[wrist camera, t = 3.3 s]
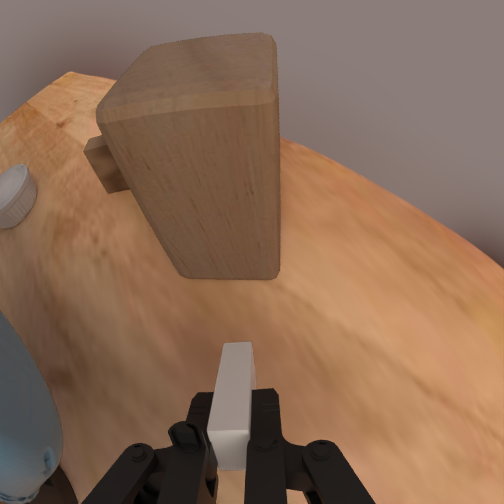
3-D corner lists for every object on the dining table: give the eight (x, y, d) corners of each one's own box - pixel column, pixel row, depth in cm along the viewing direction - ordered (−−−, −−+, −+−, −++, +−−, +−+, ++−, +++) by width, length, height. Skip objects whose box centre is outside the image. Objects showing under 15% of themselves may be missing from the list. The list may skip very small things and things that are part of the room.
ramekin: (49, 200, 39) (32, 178, 34) (3, 247, 35) (-17, 228, 30) (34, 174, 43) (21, 155, 39) (-6, 214, 39) (-21, 197, 35)
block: (179, 281, 30) (83, 112, 13) (194, 204, 35) (143, 44, 18) (279, 283, 29) (278, 86, 12) (280, 203, 34) (275, 28, 17)
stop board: (107, 193, 37) (83, 151, 31) (111, 180, 39) (89, 138, 32) (269, 169, 37) (266, 117, 30) (266, 156, 38) (263, 105, 31)
